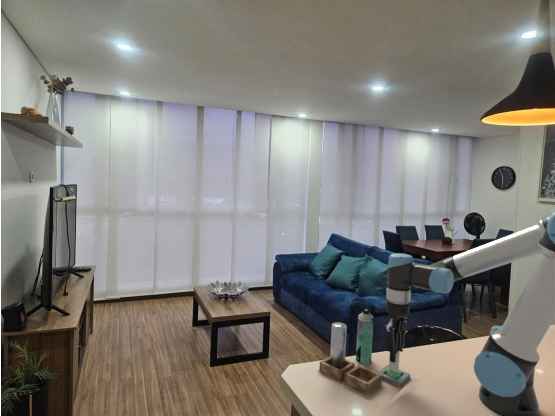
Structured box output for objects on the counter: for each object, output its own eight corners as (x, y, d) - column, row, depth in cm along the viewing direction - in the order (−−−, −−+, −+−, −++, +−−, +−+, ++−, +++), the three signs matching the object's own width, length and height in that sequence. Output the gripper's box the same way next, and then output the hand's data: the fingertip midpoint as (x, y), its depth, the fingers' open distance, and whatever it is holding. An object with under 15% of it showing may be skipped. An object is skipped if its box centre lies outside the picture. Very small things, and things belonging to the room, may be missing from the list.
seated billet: (347, 371, 120) (349, 325, 119) (338, 376, 117) (341, 329, 116) (335, 365, 124) (337, 321, 123) (326, 370, 120) (328, 324, 119)
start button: (402, 379, 118) (402, 371, 118) (396, 384, 115) (396, 375, 114) (390, 374, 121) (390, 366, 121) (383, 379, 118) (384, 370, 118)
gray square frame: (409, 381, 118) (410, 373, 118) (399, 390, 112) (399, 382, 112) (387, 371, 123) (387, 364, 123) (376, 380, 118) (376, 372, 118)
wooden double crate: (383, 386, 114) (383, 374, 114) (367, 399, 107) (367, 386, 106) (334, 364, 127) (334, 353, 127) (317, 374, 120) (317, 362, 120)
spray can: (369, 360, 131) (372, 307, 130) (372, 367, 126) (375, 312, 125) (354, 358, 132) (357, 306, 131) (356, 366, 126) (359, 311, 125)
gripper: (396, 294, 123) (392, 359, 125) (377, 302, 114) (373, 372, 116) (417, 299, 118) (412, 367, 120) (400, 308, 109) (395, 382, 110)
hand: (393, 370), depth 118 cm, fingers closed
